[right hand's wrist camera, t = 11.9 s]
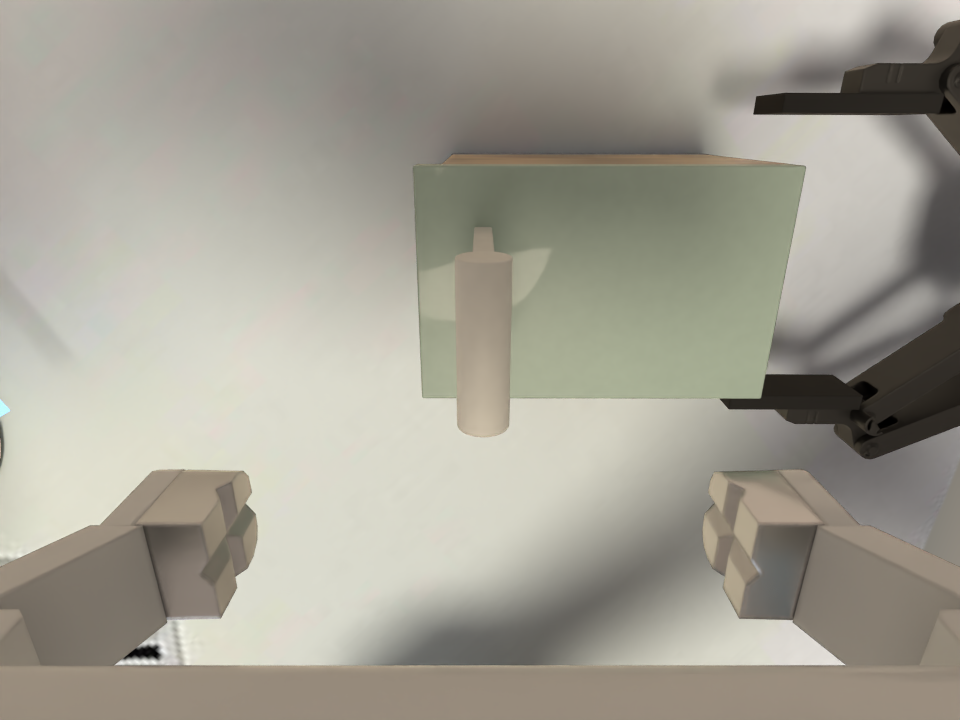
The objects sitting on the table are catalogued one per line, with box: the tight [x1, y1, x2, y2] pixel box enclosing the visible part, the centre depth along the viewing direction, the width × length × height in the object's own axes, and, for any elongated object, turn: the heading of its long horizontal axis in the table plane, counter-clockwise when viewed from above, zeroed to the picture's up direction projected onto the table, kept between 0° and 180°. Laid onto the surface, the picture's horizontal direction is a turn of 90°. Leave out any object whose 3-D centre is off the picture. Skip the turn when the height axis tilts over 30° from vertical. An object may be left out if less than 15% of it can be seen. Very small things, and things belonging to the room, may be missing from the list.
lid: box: [413, 164, 806, 437], centre depth 21 cm, size 15×10×8 cm, turn 90°
